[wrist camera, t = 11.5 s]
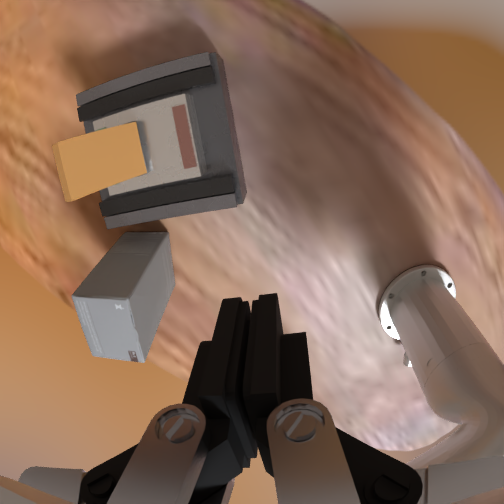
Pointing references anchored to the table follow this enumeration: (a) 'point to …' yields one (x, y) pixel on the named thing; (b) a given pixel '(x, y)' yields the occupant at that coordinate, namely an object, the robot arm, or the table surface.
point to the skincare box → (126, 296)
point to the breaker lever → (99, 160)
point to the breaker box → (171, 140)
